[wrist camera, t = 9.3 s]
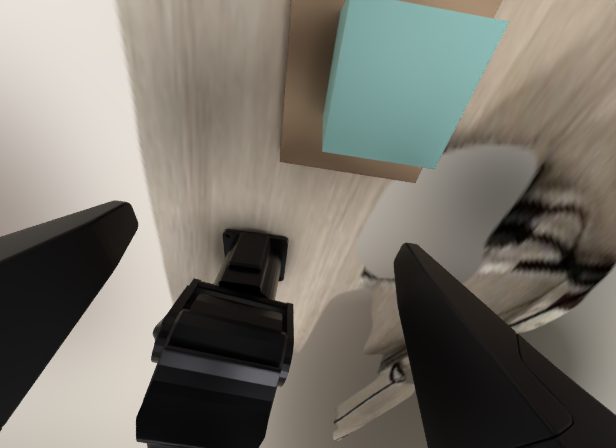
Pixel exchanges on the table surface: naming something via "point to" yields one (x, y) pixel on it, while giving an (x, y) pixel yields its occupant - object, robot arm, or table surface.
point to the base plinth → (314, 82)
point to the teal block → (403, 79)
